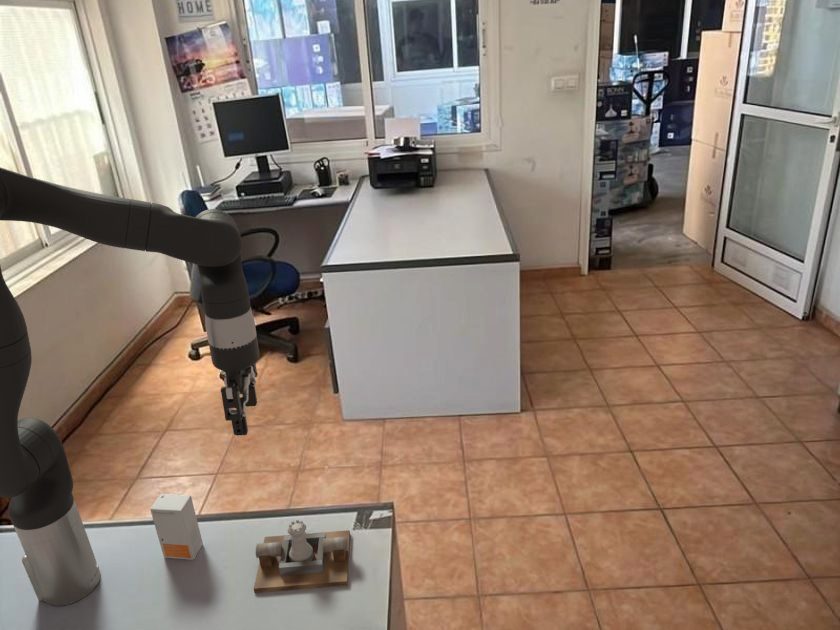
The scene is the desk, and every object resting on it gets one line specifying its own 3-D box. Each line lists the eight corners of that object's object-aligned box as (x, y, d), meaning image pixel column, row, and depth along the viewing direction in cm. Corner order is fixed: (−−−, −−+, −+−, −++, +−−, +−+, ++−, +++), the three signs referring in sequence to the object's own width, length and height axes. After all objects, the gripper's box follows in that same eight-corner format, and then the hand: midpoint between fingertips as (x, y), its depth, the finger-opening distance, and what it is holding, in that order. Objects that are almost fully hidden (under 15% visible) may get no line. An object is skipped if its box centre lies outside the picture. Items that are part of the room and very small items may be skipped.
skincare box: (163, 559, 119) (148, 509, 114) (174, 541, 123) (160, 492, 117) (194, 561, 118) (180, 510, 113) (204, 543, 122) (191, 494, 117)
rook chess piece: (318, 560, 115) (313, 526, 112) (295, 572, 113) (289, 538, 110) (307, 545, 119) (302, 512, 115) (285, 556, 117) (279, 522, 113)
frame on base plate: (254, 592, 111) (250, 572, 109) (265, 540, 122) (261, 521, 120) (347, 585, 111) (344, 565, 109) (350, 534, 122) (347, 514, 120)
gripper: (247, 356, 97) (261, 443, 104) (263, 315, 109) (274, 395, 117) (196, 358, 96) (214, 446, 103) (218, 316, 109) (233, 397, 116)
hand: (246, 419), depth 110 cm, fingers open, 8 cm apart
